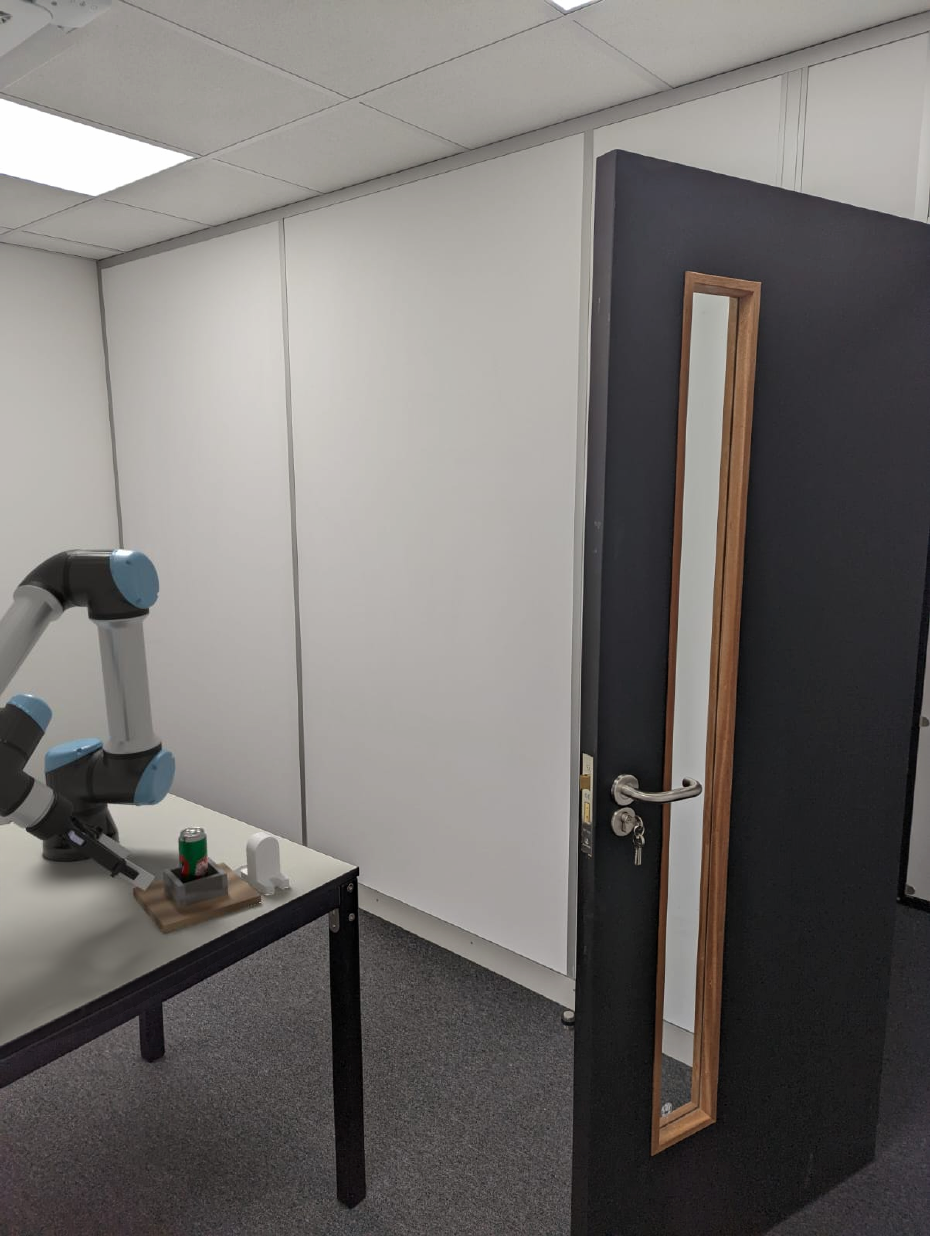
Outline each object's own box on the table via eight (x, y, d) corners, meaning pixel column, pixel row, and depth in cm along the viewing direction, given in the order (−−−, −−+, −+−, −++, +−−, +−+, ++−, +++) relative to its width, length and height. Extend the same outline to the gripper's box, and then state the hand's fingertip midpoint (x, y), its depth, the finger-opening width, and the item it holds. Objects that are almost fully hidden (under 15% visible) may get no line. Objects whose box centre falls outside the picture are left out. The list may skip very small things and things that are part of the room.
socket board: (133, 895, 165) (131, 868, 164) (223, 869, 176) (222, 843, 175) (164, 933, 151) (162, 904, 150) (261, 902, 162) (259, 875, 161)
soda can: (201, 899, 160) (198, 838, 158) (176, 897, 161) (172, 836, 159) (214, 886, 165) (211, 827, 163) (189, 884, 166) (186, 825, 164)
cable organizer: (263, 871, 175) (261, 824, 173) (290, 887, 168) (288, 838, 166) (240, 879, 171) (237, 832, 170) (266, 896, 164) (264, 846, 163)
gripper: (8, 807, 153) (103, 864, 164) (40, 854, 133) (145, 914, 145) (38, 772, 155) (129, 830, 167) (73, 813, 136) (174, 876, 147)
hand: (137, 870), depth 156 cm, fingers open, 13 cm apart
